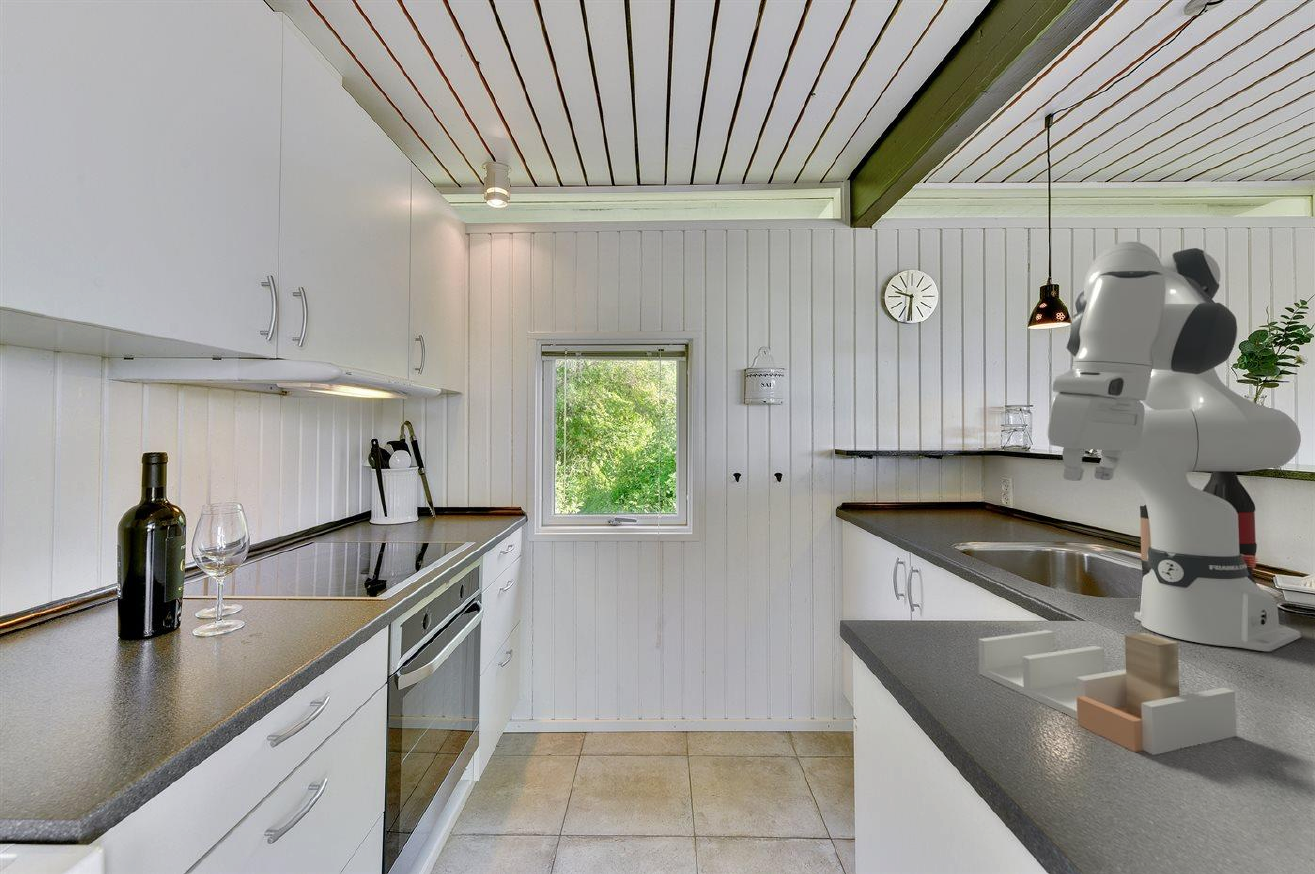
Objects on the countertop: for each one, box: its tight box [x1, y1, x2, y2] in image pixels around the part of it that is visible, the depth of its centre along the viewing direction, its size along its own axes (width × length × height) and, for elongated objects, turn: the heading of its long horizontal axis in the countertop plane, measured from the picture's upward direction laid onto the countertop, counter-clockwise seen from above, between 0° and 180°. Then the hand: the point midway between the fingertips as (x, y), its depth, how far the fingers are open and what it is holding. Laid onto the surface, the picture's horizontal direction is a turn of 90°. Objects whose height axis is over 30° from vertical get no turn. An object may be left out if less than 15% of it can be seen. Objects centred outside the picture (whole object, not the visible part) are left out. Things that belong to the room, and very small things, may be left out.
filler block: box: [1124, 632, 1180, 718], centre depth 64 cm, size 3×4×9 cm
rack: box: [977, 629, 1238, 756], centre depth 70 cm, size 14×22×5 cm, turn 16°
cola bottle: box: [1202, 471, 1258, 586], centre depth 112 cm, size 8×8×30 cm
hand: (1087, 479), depth 80 cm, fingers open, 8 cm apart
